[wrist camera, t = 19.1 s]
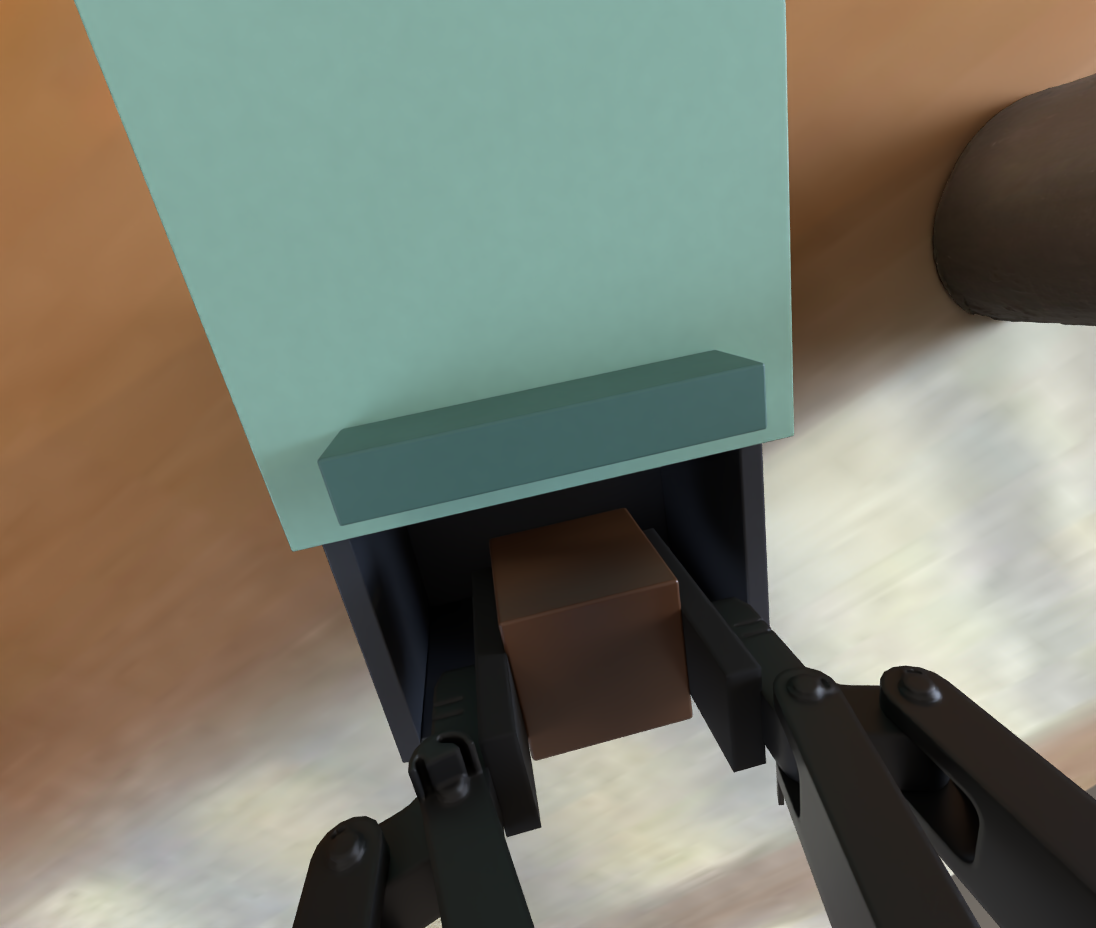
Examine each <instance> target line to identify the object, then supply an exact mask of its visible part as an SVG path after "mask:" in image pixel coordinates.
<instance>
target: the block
mask: <svg viewBox="0 0 1096 928" xmlns="http://www.w3.org/2000/svg"><path fill="white" fill-rule="evenodd" d="M489 548H490V557H491V565H492V574H493V583H494V592H495V600H496V609H497V618H498V626H499V630H500V634H501V638H502V642H503V646H504V650H505V652H506V654H507V658H508V662H509V666H510V670H511V674H512V678H513V682H514V686H515V690H516V694H517V697H518V701H519V705H520V709H521V713H522V717H523V721H524V725H525V729H526V733H527V737H528V742H529V748H530V752H531V756H532V758H533V759H534V760H536V761H537V760H540V759H544V758H548V757H551V756H555V755H559V754H562V753H566V752H570V751H573V750H577V749H581V748H584V747H588V746H592V745H595V744H599V743H603V742H606V741H610V740H614V739H617V738H621V737H625V736H628V735H632V734H636V733H639V732H643V731H647V730H650V729H654V728H658V727H661V726H665V725H669V724H672V723H676V722H680V721H683V720H687V719H690V718H692V705H691V696H690V688H689V678H688V669H687V660H686V650H685V641H684V632H683V623H682V613H681V602H680V593H679V583H678V580H677V578H676V577H675V576H674V574H673V573H672V571H671V570H670V569H669V567H668V566H667V565H666V563H665V562H664V560H663V559H662V558H661V556H660V555H659V553H658V552H657V551H656V549H655V548H654V547H653V545H652V544H651V542H650V541H649V540H648V538H647V537H646V535H645V534H644V533H643V531H642V530H641V529H640V527H639V526H638V524H637V523H636V522H635V520H634V519H633V518H632V516H631V515H630V513H629V512H628V511H627V509H626V508H620V509H616V510H612V511H607V512H603V513H599V514H594V515H590V516H586V517H582V518H577V519H573V520H569V521H565V522H560V523H556V524H552V525H548V526H543V527H539V528H535V529H530V530H526V531H522V532H518V533H513V534H509V535H505V536H501V537H496V538H492V539H490V540H489Z"/></svg>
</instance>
